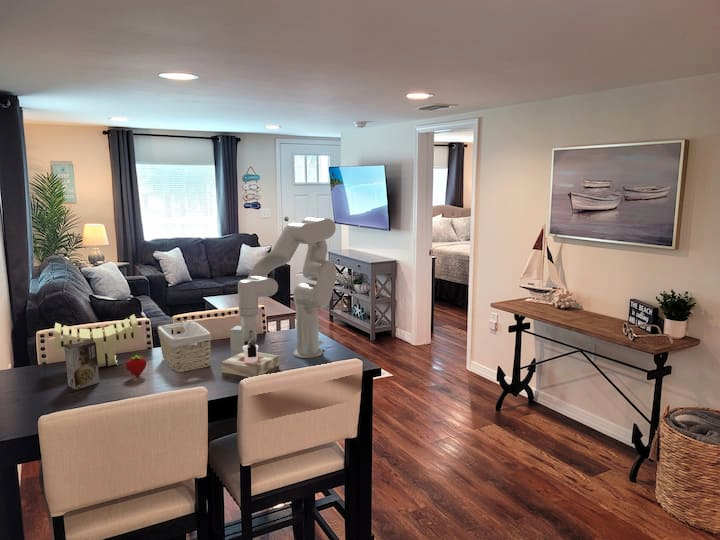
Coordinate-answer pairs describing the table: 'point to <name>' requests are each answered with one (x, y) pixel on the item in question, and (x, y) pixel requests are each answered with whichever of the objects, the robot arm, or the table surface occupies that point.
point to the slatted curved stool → (100, 338)
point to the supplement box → (236, 341)
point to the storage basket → (185, 346)
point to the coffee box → (81, 363)
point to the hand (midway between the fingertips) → (250, 353)
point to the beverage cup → (247, 359)
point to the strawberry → (136, 365)
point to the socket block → (249, 366)
